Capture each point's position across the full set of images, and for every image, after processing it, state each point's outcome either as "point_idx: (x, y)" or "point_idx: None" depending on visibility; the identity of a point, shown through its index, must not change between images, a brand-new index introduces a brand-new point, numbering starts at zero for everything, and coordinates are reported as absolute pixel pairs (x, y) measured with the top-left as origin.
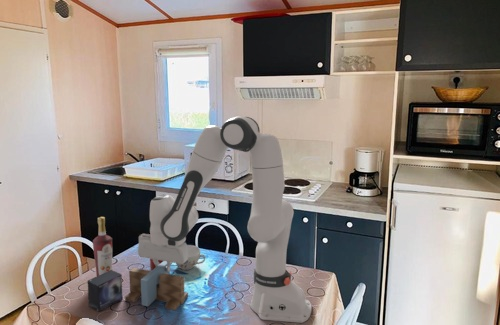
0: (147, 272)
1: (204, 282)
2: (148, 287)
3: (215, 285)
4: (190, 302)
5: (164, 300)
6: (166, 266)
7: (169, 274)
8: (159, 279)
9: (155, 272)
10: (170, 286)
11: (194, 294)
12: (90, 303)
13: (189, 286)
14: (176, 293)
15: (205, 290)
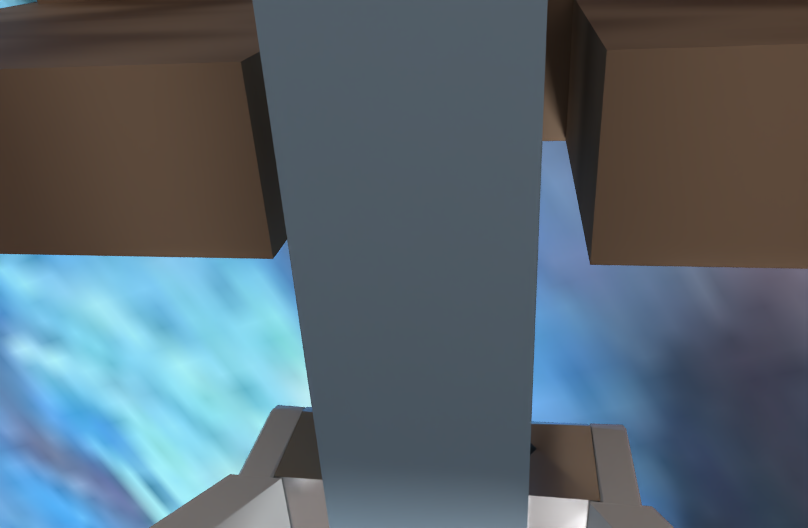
0: (761, 152)
1: (167, 493)
2: None
3: (41, 469)
4: None
5: None
6: (317, 519)
7: (65, 249)
8: None
9: (297, 33)
10: (47, 29)
11: (96, 272)
12: None
13: (254, 399)
14: (15, 18)
15: (55, 372)
